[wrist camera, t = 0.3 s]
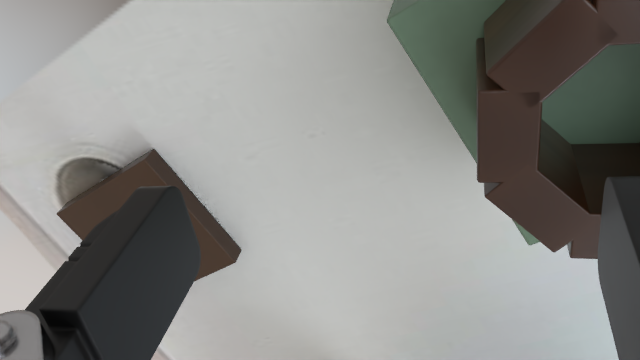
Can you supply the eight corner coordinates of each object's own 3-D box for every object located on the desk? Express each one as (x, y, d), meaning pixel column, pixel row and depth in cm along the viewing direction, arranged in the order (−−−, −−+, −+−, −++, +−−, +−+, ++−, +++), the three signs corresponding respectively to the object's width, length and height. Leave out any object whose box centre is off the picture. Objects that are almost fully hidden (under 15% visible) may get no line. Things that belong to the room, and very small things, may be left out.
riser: (407, -40, 26) (385, 20, 19) (656, -203, 21) (741, -197, 14) (515, 142, 29) (528, 246, 22) (749, 37, 24) (852, 129, 18)
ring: (476, -51, 17) (476, -13, 14) (801, -82, 15) (890, -45, 12) (476, 184, 21) (477, 256, 18) (732, 184, 20) (785, 264, 16)
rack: (66, 202, 37) (-66, 339, 28) (153, 148, 34) (34, 284, 24) (152, 291, 40) (58, 441, 31) (242, 249, 36) (164, 406, 27)
